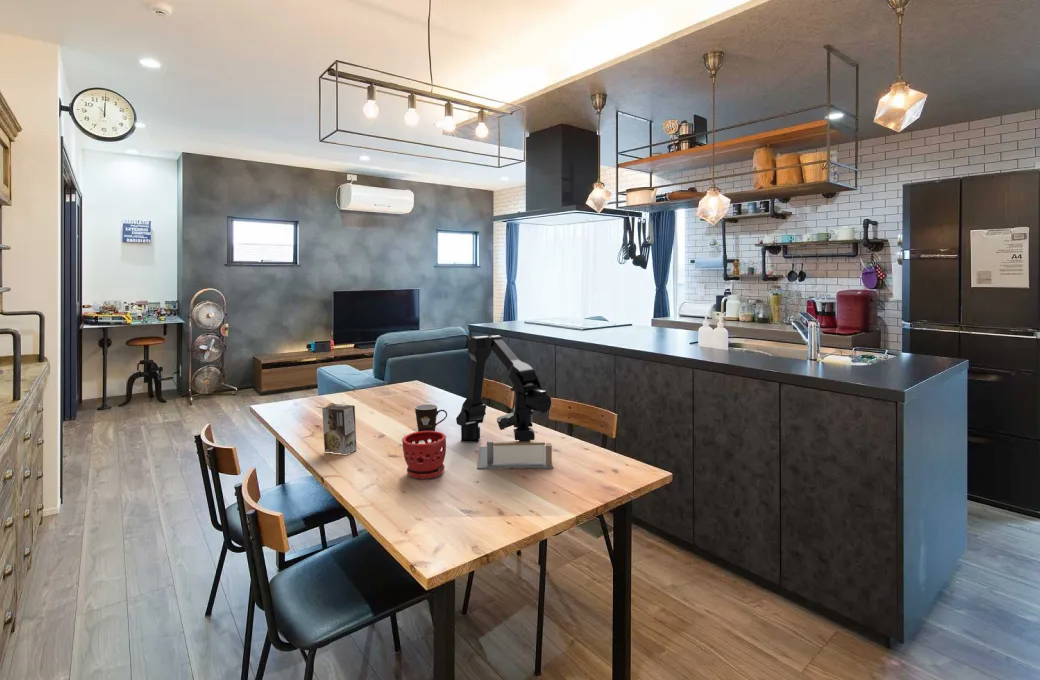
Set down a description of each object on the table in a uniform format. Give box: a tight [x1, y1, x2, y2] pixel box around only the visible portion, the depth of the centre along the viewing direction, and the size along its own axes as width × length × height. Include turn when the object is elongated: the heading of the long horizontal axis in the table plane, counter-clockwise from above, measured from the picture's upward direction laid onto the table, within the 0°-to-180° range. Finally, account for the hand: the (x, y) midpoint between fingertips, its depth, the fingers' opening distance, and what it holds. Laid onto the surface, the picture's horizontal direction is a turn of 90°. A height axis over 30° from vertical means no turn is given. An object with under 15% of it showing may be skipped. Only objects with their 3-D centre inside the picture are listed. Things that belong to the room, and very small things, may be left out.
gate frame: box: [477, 442, 554, 470], centre depth 185 cm, size 24×21×7 cm
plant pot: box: [402, 430, 447, 480], centre depth 170 cm, size 13×13×12 cm
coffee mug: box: [414, 403, 448, 432], centre depth 214 cm, size 12×9×10 cm
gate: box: [486, 440, 546, 464], centre depth 177 cm, size 18×2×7 cm, turn 93°
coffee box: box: [321, 403, 357, 454], centre depth 191 cm, size 9×6×16 cm
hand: (522, 452), depth 181 cm, fingers closed
